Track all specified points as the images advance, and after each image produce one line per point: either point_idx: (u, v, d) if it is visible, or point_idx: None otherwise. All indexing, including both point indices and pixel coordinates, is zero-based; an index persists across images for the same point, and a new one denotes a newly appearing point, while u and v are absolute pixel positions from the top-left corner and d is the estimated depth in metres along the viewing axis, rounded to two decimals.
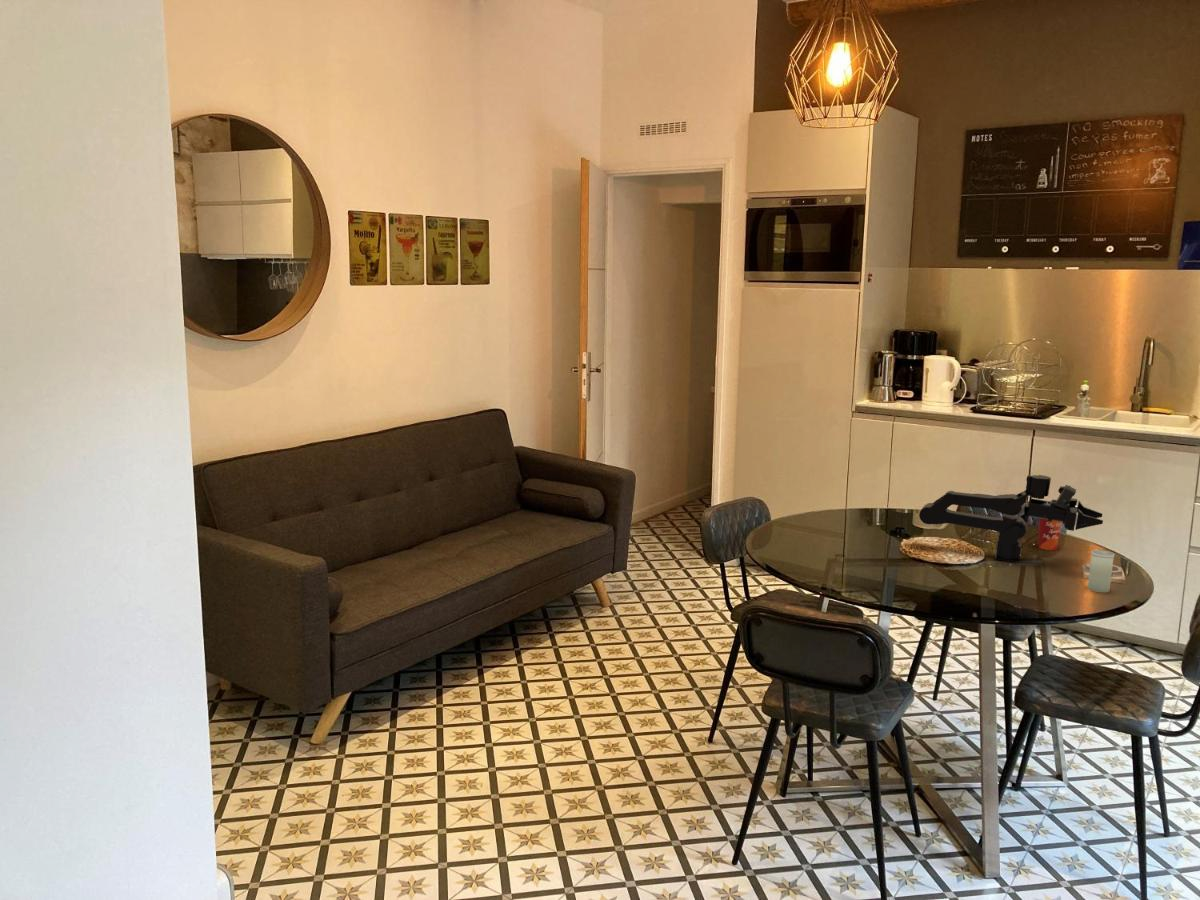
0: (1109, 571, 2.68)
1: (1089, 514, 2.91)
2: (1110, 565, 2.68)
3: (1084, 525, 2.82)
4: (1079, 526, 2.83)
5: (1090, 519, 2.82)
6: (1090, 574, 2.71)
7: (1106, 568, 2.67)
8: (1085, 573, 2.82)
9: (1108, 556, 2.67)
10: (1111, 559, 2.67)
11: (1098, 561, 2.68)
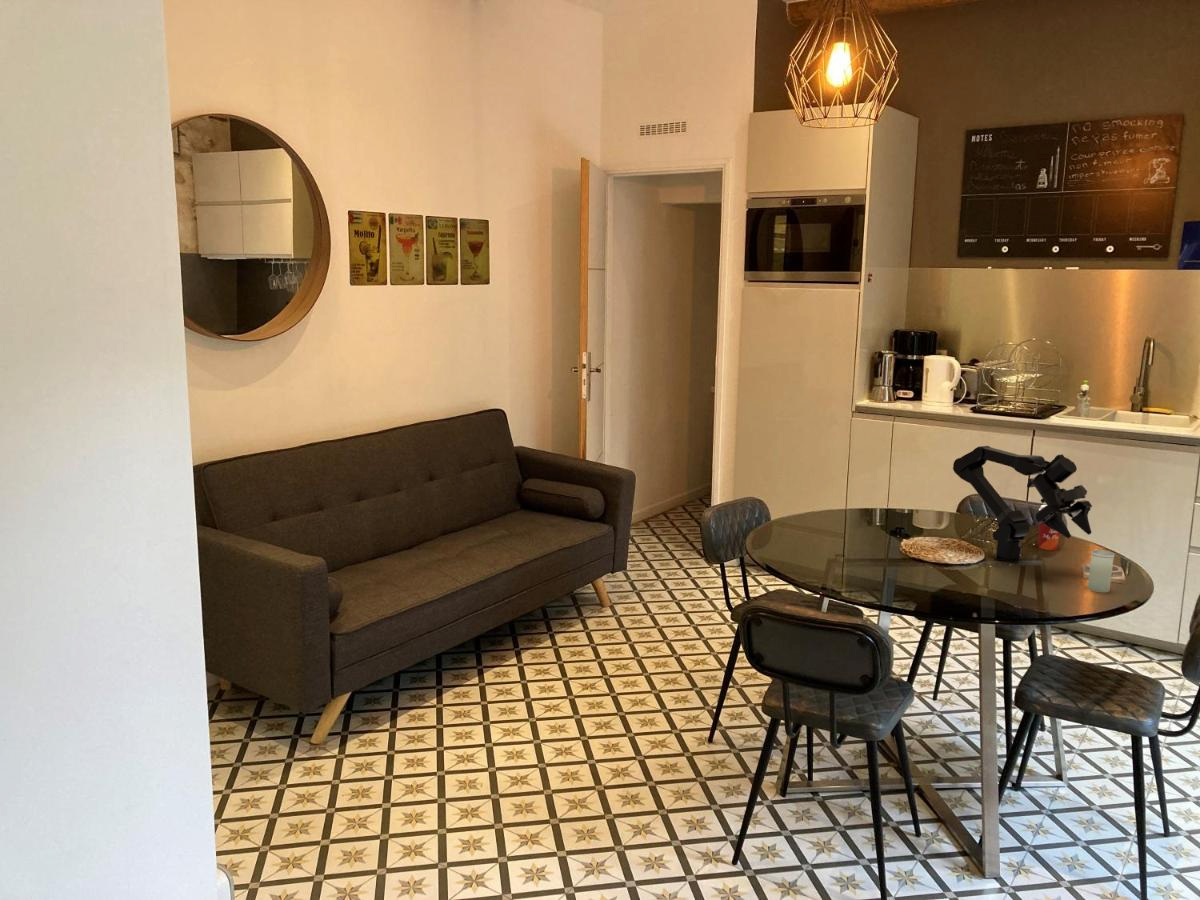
0: (1109, 571, 2.68)
1: (1082, 524, 2.80)
2: (1110, 565, 2.68)
3: (1053, 527, 2.77)
4: (1049, 524, 2.78)
5: (1061, 527, 2.75)
6: (1090, 574, 2.71)
7: (1106, 568, 2.67)
8: (1085, 573, 2.82)
9: (1108, 556, 2.67)
10: (1111, 559, 2.67)
11: (1098, 561, 2.68)
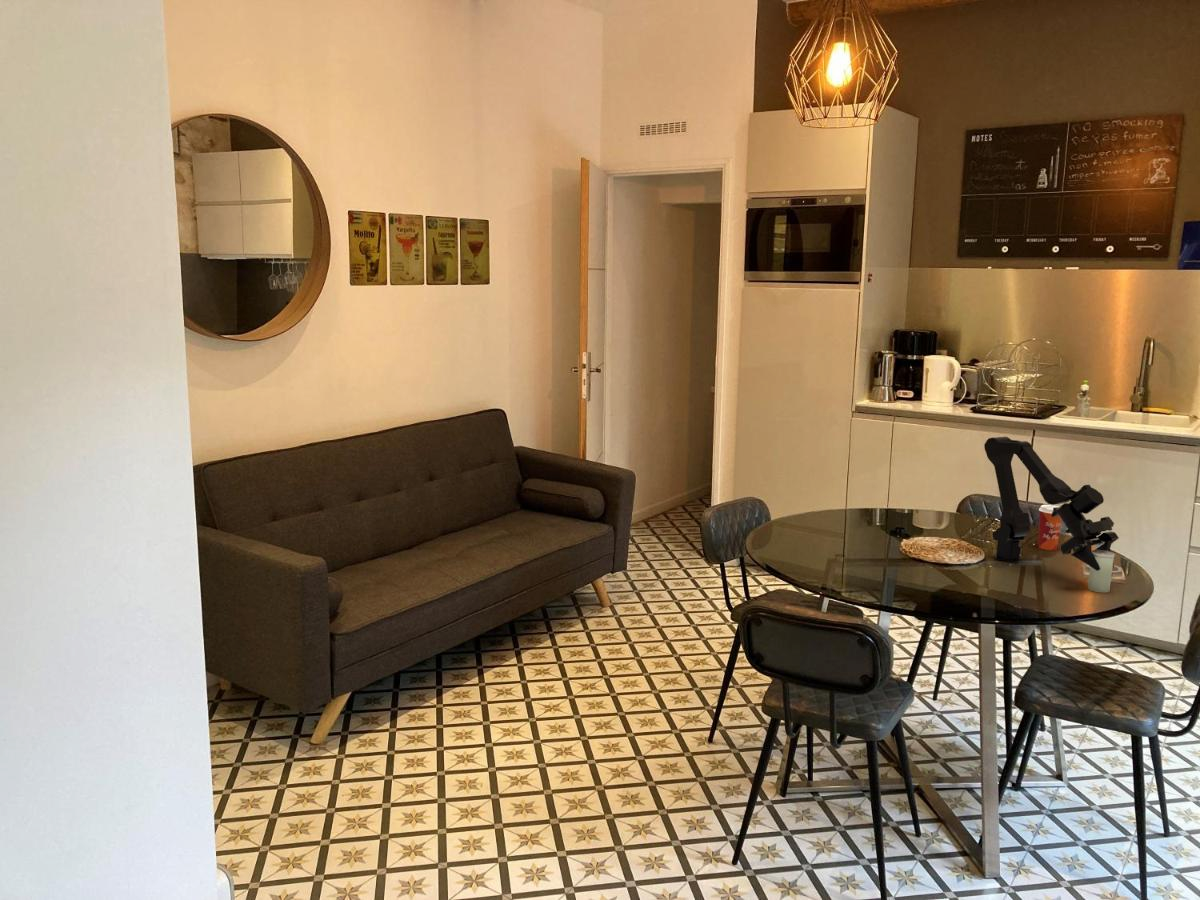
0: (1109, 571, 2.68)
1: None
2: (1110, 565, 2.68)
3: (1082, 558, 2.70)
4: (1077, 555, 2.71)
5: (1090, 559, 2.68)
6: (1090, 574, 2.71)
7: (1106, 568, 2.67)
8: (1085, 573, 2.82)
9: (1108, 556, 2.67)
10: (1111, 559, 2.67)
11: (1098, 561, 2.68)
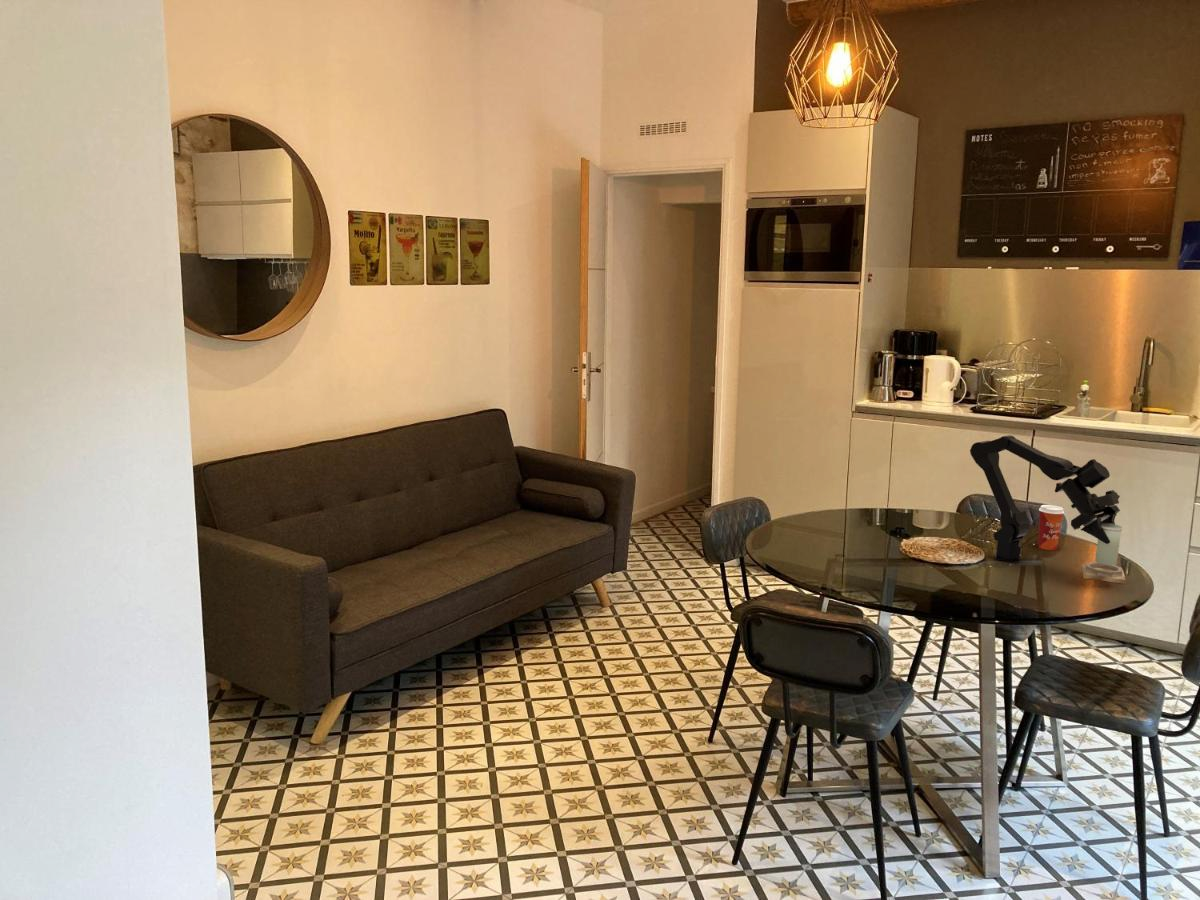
0: (1118, 544, 2.71)
1: None
2: (1119, 538, 2.71)
3: (1091, 532, 2.73)
4: (1086, 530, 2.73)
5: (1100, 533, 2.71)
6: (1099, 548, 2.74)
7: (1116, 541, 2.71)
8: (1085, 573, 2.82)
9: (1117, 529, 2.70)
10: (1120, 532, 2.71)
11: (1108, 534, 2.71)
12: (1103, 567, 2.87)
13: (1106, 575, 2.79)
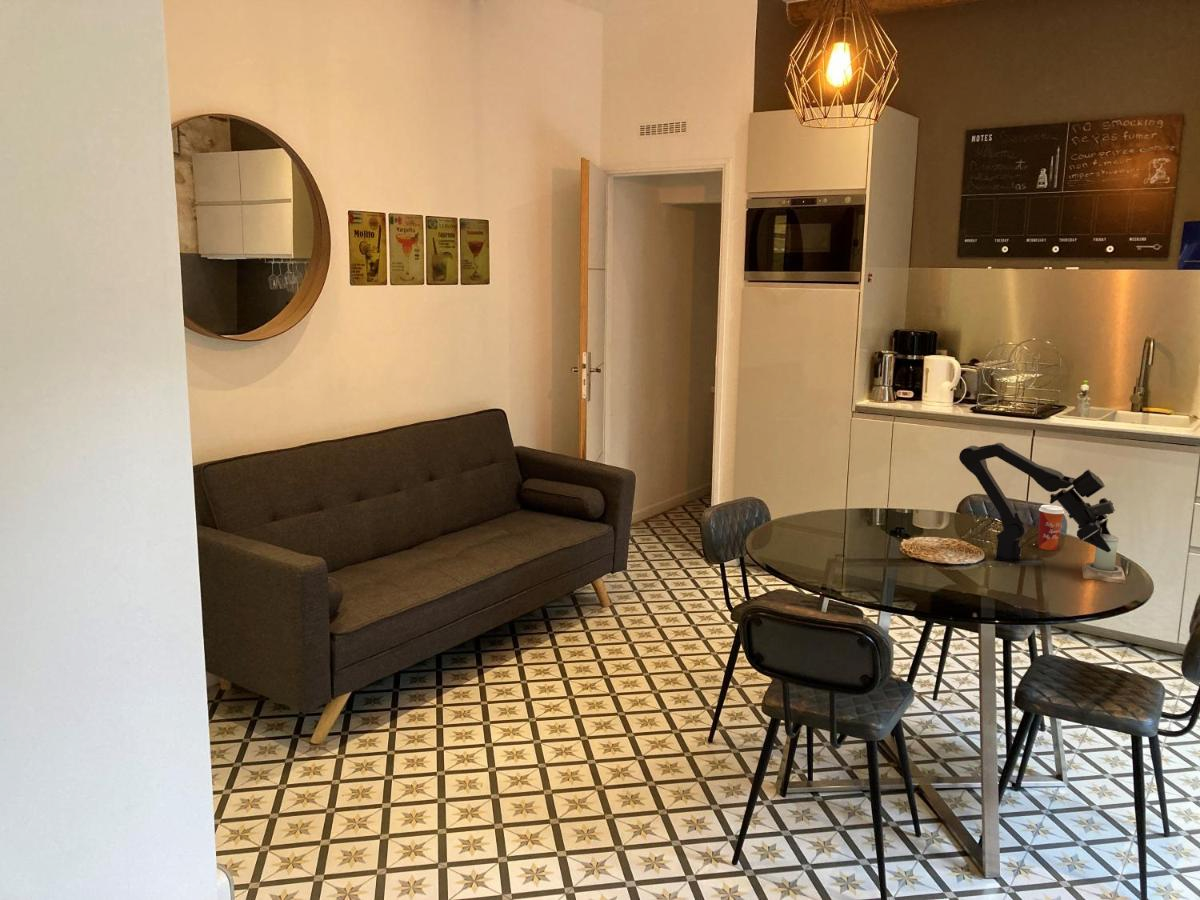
0: None
1: None
2: (1116, 548, 2.81)
3: (1093, 542, 2.79)
4: (1088, 540, 2.79)
5: (1102, 542, 2.78)
6: (1099, 558, 2.82)
7: (1115, 551, 2.80)
8: (1085, 573, 2.82)
9: (1116, 539, 2.80)
10: (1117, 542, 2.81)
11: (1108, 545, 2.80)
12: None
13: (1106, 575, 2.79)
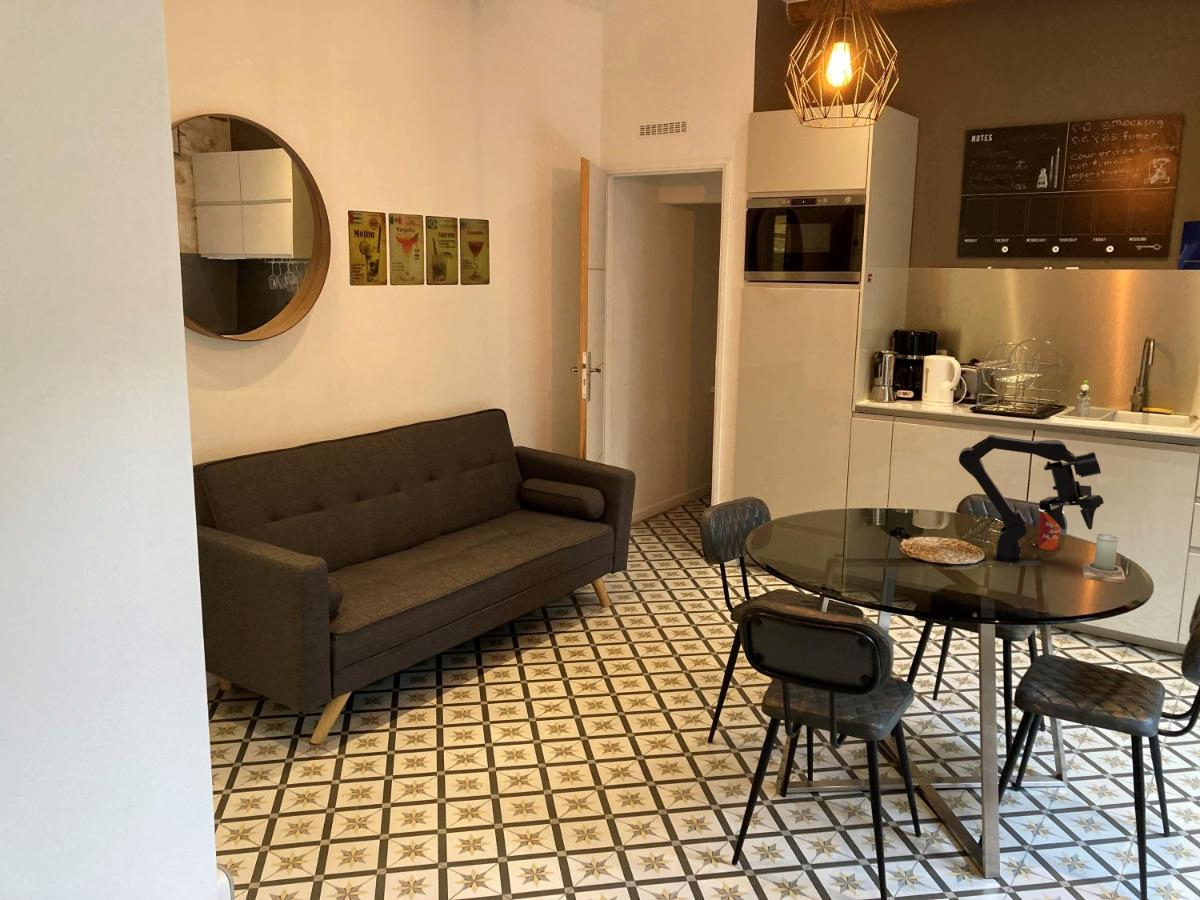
0: None
1: (1060, 518, 2.94)
2: (1116, 548, 2.81)
3: (1088, 516, 2.84)
4: (1087, 512, 2.83)
5: (1092, 518, 2.85)
6: (1099, 559, 2.82)
7: (1115, 551, 2.80)
8: (1085, 573, 2.82)
9: (1116, 539, 2.79)
10: (1117, 542, 2.81)
11: (1108, 545, 2.80)
12: None
13: (1106, 575, 2.79)
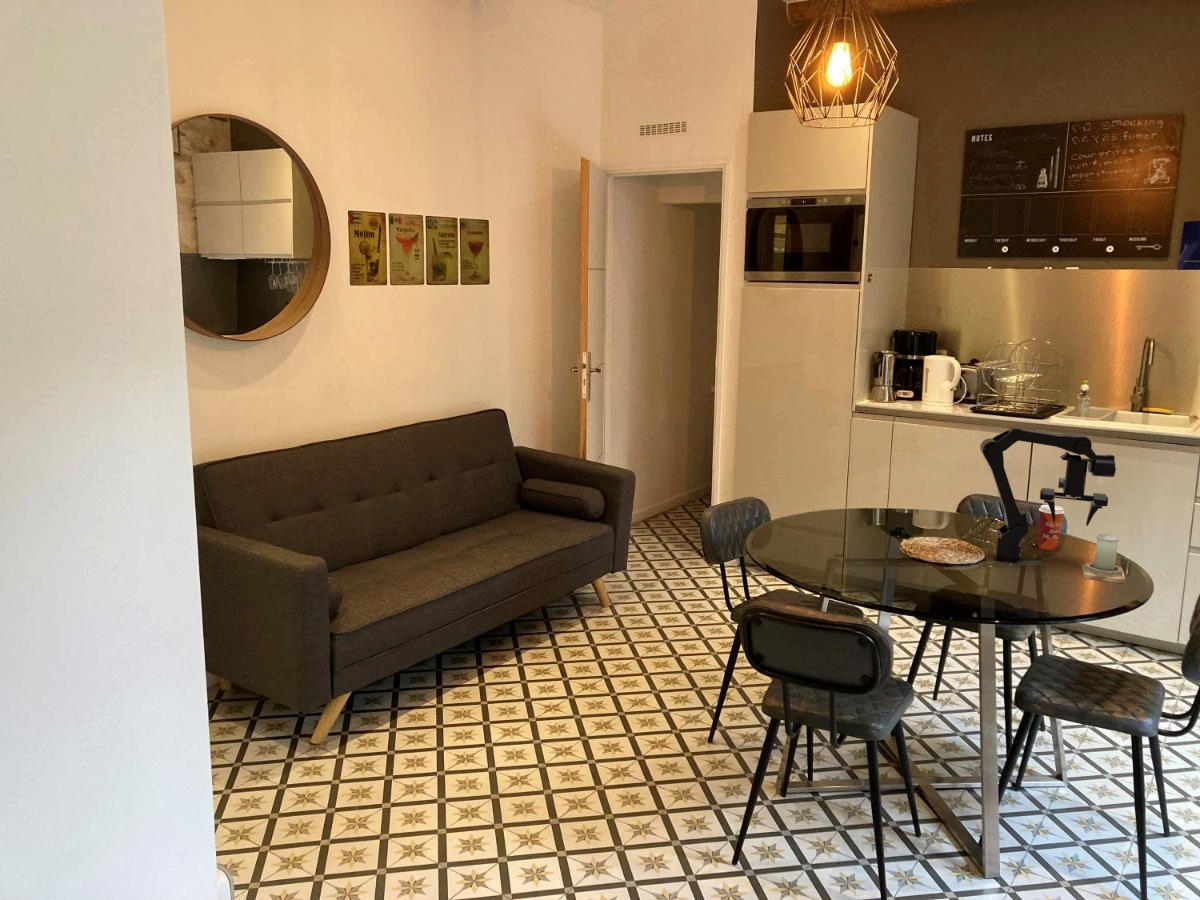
0: (1116, 553, 2.81)
1: (1054, 511, 2.94)
2: None
3: None
4: None
5: None
6: (1099, 558, 2.82)
7: (1115, 551, 2.80)
8: (1085, 573, 2.82)
9: (1117, 540, 2.79)
10: (1117, 542, 2.81)
11: (1108, 545, 2.80)
12: None
13: (1106, 575, 2.79)
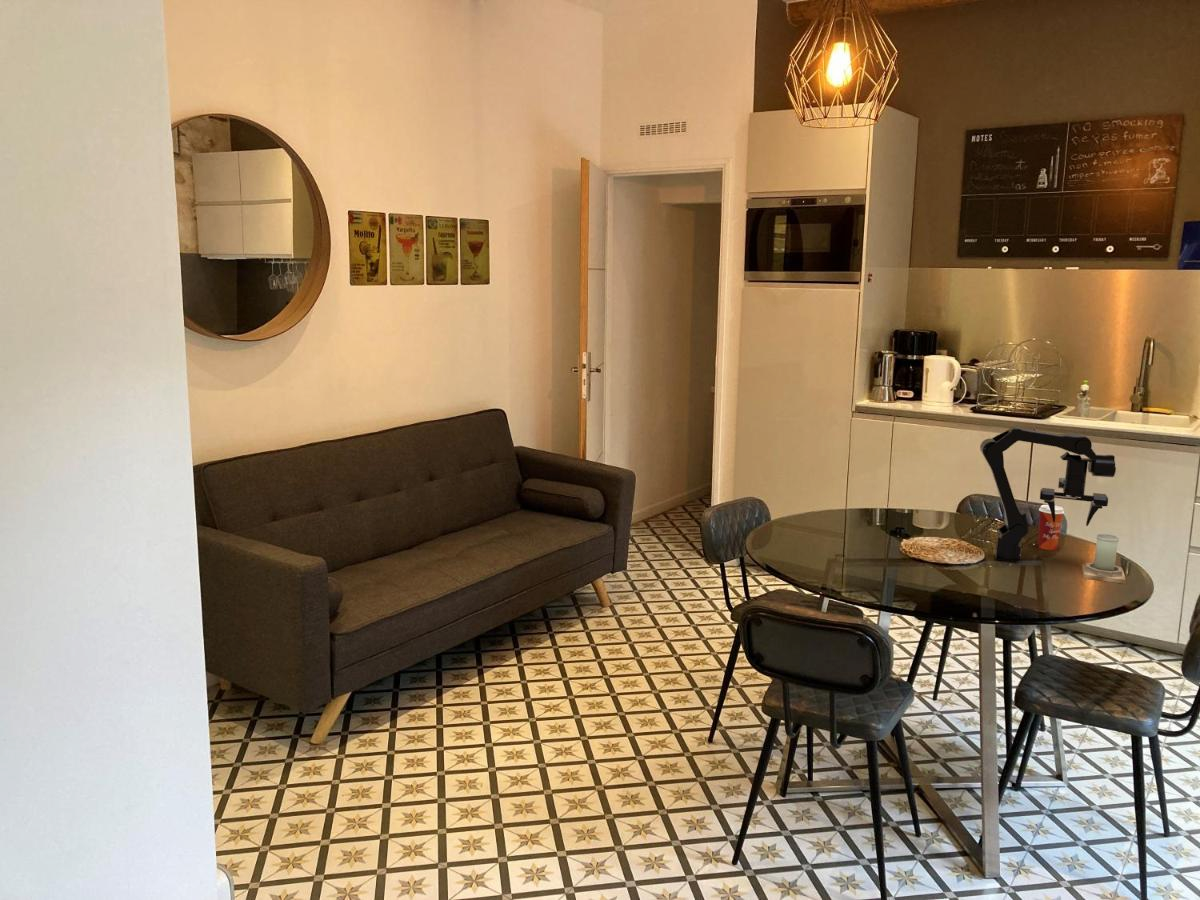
0: None
1: (1054, 511, 2.94)
2: None
3: None
4: None
5: None
6: (1099, 558, 2.82)
7: (1115, 551, 2.80)
8: (1085, 573, 2.82)
9: (1116, 540, 2.79)
10: (1117, 542, 2.80)
11: (1108, 545, 2.80)
12: None
13: (1106, 575, 2.79)
